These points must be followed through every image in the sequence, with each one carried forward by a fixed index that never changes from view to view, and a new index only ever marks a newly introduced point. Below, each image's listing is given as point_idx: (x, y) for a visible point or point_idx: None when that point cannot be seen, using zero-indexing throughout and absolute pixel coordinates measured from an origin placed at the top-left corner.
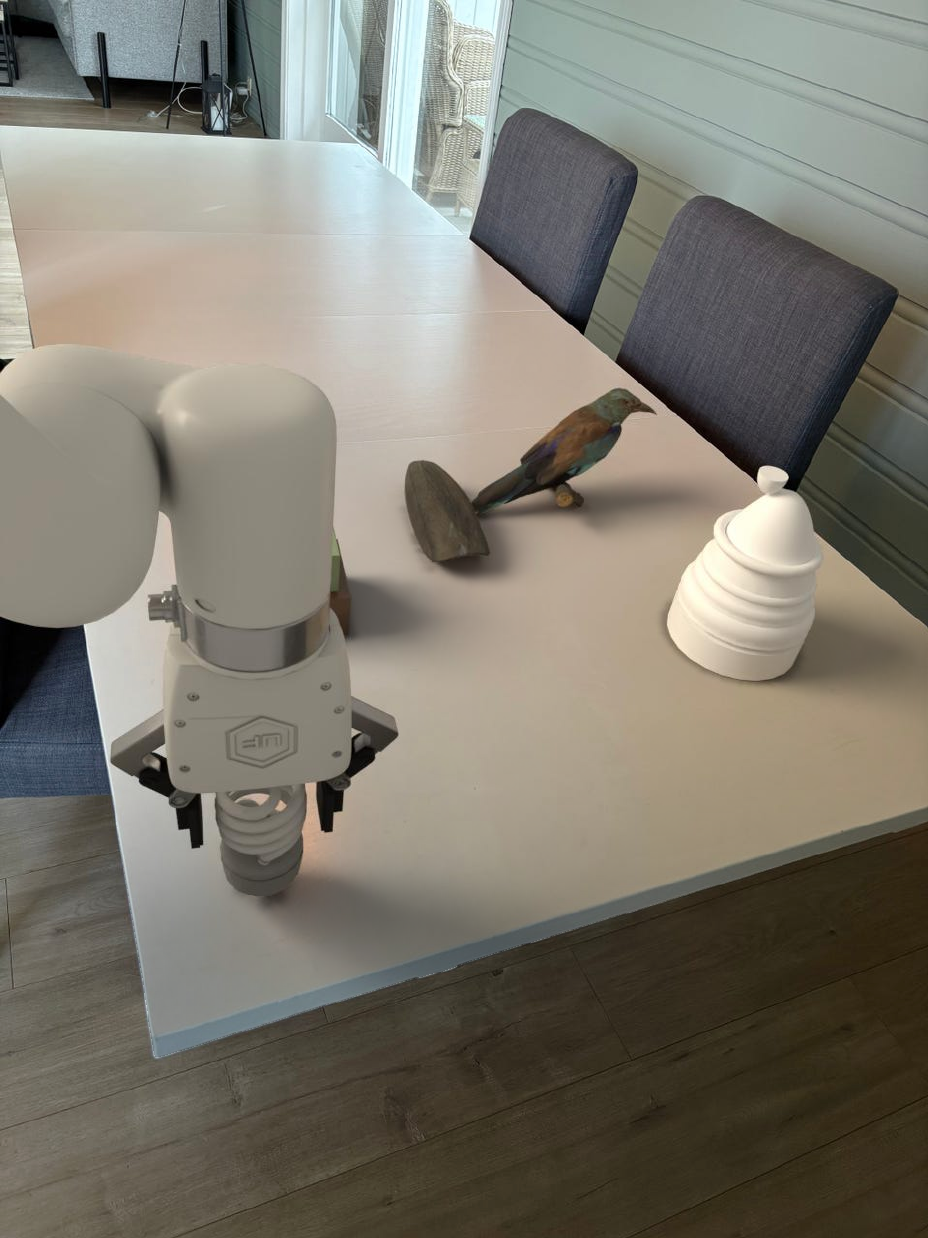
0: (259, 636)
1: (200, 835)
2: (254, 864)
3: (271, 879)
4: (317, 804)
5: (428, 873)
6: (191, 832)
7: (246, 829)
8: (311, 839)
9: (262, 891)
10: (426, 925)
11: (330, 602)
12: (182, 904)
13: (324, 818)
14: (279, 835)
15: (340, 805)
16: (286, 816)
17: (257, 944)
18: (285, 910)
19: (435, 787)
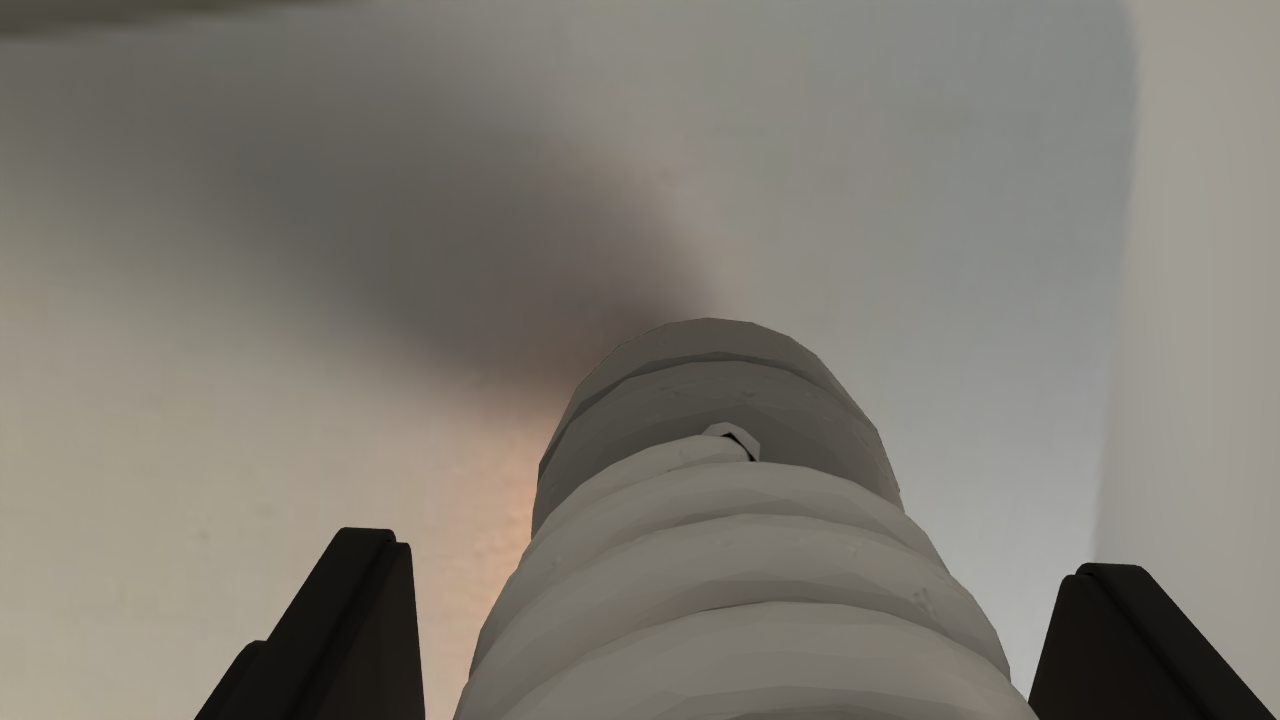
0: None
1: (1134, 640)
2: (775, 436)
3: (698, 359)
4: (418, 693)
5: (123, 333)
6: (1228, 676)
7: (910, 648)
8: (522, 528)
9: (734, 330)
10: (132, 127)
11: None
12: (977, 379)
13: (348, 620)
14: (656, 557)
15: (232, 689)
16: (588, 707)
17: (755, 177)
18: (640, 290)
19: (98, 632)
